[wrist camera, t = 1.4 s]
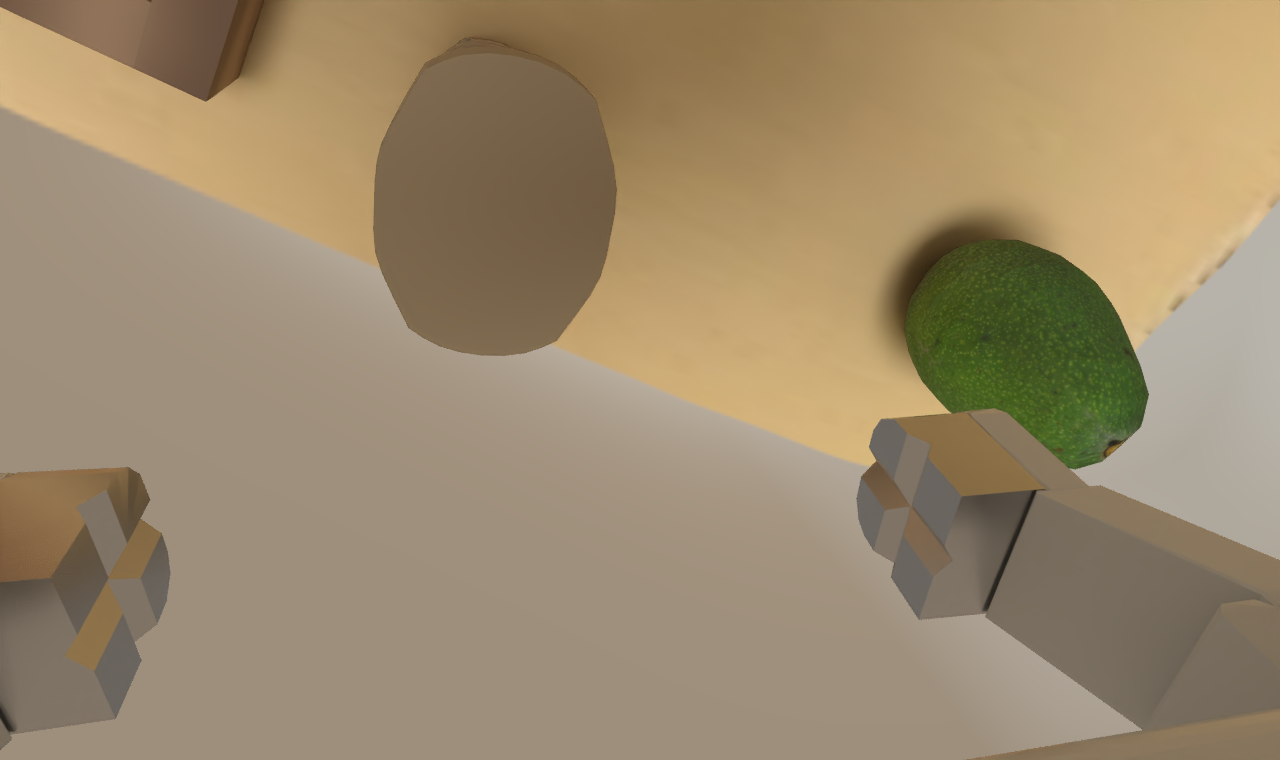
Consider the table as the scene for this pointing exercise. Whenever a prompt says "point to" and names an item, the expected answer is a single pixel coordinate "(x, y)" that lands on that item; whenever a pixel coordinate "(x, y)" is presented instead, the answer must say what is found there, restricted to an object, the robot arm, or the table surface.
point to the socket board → (157, 35)
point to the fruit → (1028, 347)
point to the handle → (493, 200)
